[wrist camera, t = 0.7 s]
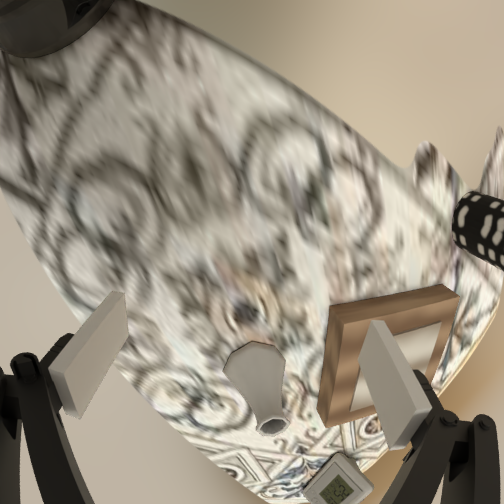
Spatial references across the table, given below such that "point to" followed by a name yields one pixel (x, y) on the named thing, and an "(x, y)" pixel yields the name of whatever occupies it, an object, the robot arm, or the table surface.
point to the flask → (260, 384)
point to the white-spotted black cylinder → (480, 227)
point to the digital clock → (338, 483)
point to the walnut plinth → (404, 332)
